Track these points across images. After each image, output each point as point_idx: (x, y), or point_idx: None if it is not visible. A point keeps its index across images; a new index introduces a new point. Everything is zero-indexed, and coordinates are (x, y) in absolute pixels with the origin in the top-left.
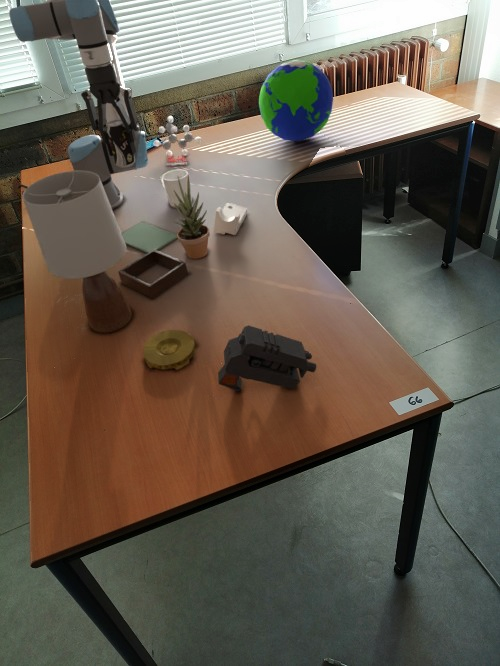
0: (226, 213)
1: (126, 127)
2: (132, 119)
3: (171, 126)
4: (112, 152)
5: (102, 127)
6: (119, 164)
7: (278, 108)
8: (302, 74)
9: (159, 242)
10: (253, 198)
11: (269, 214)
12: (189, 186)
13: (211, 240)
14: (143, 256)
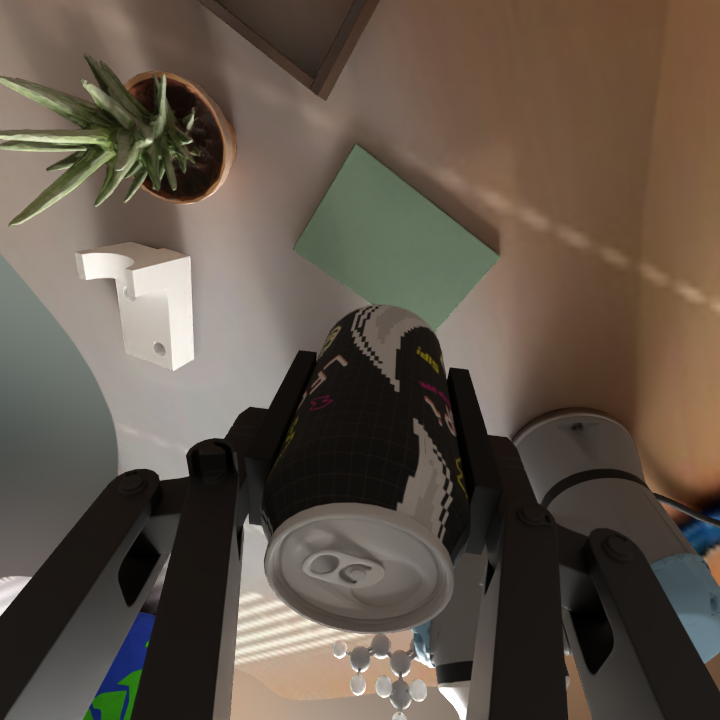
0: (155, 315)
1: (223, 491)
2: (75, 550)
3: (393, 697)
4: (441, 372)
5: (509, 539)
6: (402, 312)
7: (107, 694)
8: None
9: (341, 211)
10: (156, 419)
11: (85, 340)
12: (44, 191)
13: (189, 219)
14: (342, 35)
